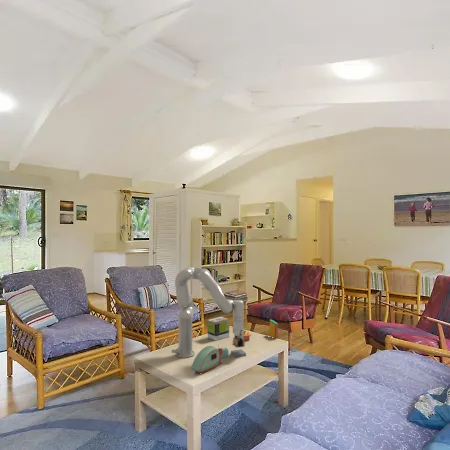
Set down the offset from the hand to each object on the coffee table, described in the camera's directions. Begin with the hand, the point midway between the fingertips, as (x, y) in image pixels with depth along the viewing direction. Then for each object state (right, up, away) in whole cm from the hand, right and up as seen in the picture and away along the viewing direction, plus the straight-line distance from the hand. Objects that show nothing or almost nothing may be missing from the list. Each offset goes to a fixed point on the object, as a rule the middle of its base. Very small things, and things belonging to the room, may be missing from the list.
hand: (238, 344), depth 234 cm
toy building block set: (+14, -8, +33) cm, 37 cm away
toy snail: (-20, -8, -22) cm, 31 cm away
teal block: (-10, -8, -1) cm, 13 cm away
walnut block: (0, -1, 0) cm, 1 cm away
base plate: (0, -8, 0) cm, 8 cm away
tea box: (-15, -8, +38) cm, 42 cm away
